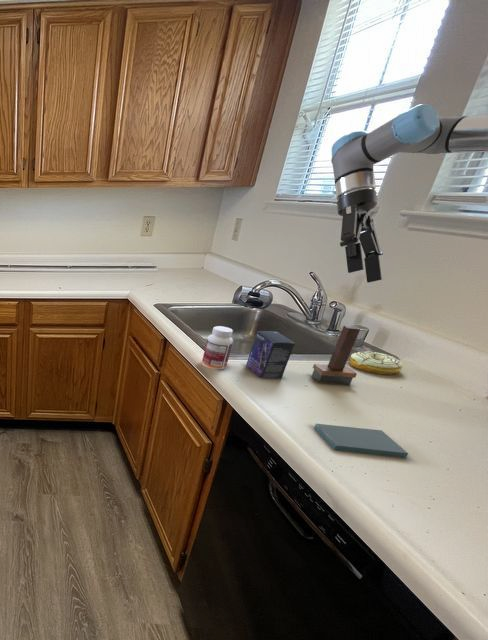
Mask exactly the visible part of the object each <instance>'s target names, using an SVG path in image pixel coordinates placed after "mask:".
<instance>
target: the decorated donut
mask: <svg viewBox="0 0 488 640" xmlns="http://www.w3.org/2000/svg"><path fill="white" fill-rule="evenodd" d="M349 365H350V366H352V367H354V368H355V369H358V370H361V371H364V372H368V373H373V374H378V375H384V376H387V375H388V376H389V375H394V374H397V373H398V372H400V371H401V370H402V369H403V362H401V361H400V360H399V359H398V358H396V357H394V356H392V355H389V354H386V353H381V352H378V351H377V352H375V351H358V352H353V353H352V354H351V355H350V358H349Z"/></svg>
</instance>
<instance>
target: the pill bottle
mask: <svg viewBox="0 0 488 640" xmlns="http://www.w3.org/2000/svg"><path fill="white" fill-rule="evenodd" d="M233 332H234V329H232V328H230V327H227V326H222V325H216V326H214V327H213V328H212V333H211V334H209V335H208V336H207V339H206V343H205V347H204V352H203V355H202V360H201V365H202V366H204V367H206V368H209V369H212V370H225V369H226V368H227V366H228V363H229V358H230V355H231V352H232V347H233V344H234V339H233V338H232V337H231V336H233Z"/></svg>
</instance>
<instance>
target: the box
mask: <svg viewBox="0 0 488 640" xmlns="http://www.w3.org/2000/svg"><path fill="white" fill-rule="evenodd" d="M295 345H296V342H295V341H293V340H291V339H289V338H288V337H287V336H285V335H284V334H282V333H280V332H279V331H273V330H258V331H256V334H255V337H254V340H253V343H252V346H251V348H250V352H249V354H248V358H247V361H246V364H245V367H247V368H248V369H249V370H250V371H251V372H253V373H254V374H255V375H256V376H257V377H259V378H261V379H283V375H284V373H285V371H286V368H287V365H288V362H289V359H290V357H291V355H292V352H293V350H294V348H295Z"/></svg>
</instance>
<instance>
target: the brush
mask: <svg viewBox="0 0 488 640" xmlns="http://www.w3.org/2000/svg"><path fill="white" fill-rule="evenodd" d="M360 331H361V328H359V327H357V326H355V325H346V324H345V325H343V326H342V329H341V332H340V334H339V337H338V339H337V342H336V343H335V347H334V348H333V352H332V354H331V356H330V359H329V361H328V364H323V363H314V364H313V365H312V369H313V371H312V374H311V377H312V378H313V379H314V380H315V381H316V382H317V383H319V384H329V385H340V386H351V383H352V382H353V379H354V378H356V377H357V376H358V373H357V372H356V371H354V370H353V369H352V368H350V367H349V366H348V365H347V362H348V360H349V357H350V356H351V355H350V354H351V353H352V351H353V348H354V345H355V343H356V341H357V338H358V336H359V333H360Z"/></svg>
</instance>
